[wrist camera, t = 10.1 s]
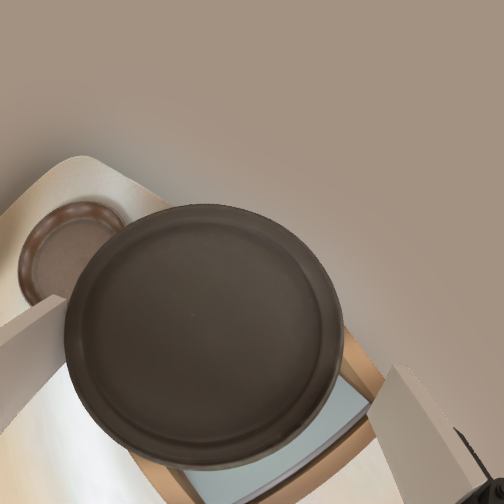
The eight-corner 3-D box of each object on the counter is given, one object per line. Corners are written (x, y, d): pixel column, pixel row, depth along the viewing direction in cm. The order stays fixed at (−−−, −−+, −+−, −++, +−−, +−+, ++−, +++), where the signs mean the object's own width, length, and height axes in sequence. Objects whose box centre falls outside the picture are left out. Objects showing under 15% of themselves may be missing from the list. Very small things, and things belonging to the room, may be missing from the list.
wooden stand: (126, 370, 32) (72, 339, 18) (249, 302, 40) (273, 235, 26) (209, 492, 25) (210, 548, 11) (331, 412, 33) (404, 405, 19)
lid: (136, 380, 23) (132, 375, 23) (263, 308, 29) (262, 302, 29) (219, 517, 13) (216, 517, 13) (370, 409, 19) (373, 405, 19)
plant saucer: (160, 253, 42) (157, 241, 39) (71, 353, 32) (61, 348, 29) (86, 195, 46) (81, 183, 43) (10, 271, 35) (1, 261, 33)
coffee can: (133, 392, 19) (22, 347, 8) (198, 296, 25) (168, 173, 13) (244, 459, 17) (256, 522, 5) (304, 352, 22) (379, 268, 10)
